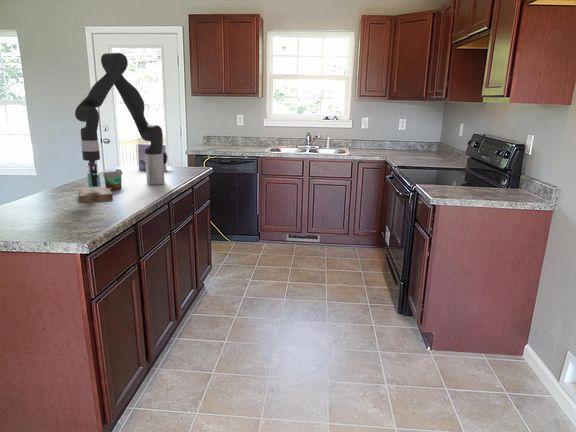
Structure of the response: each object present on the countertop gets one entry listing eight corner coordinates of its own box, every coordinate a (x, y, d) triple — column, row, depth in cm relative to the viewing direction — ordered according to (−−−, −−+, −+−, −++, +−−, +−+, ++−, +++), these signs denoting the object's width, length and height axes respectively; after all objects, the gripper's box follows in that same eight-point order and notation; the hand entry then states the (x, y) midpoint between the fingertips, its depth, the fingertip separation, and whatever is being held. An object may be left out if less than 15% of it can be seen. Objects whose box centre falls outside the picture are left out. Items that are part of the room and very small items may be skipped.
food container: (115, 192, 219) (113, 173, 216) (104, 191, 220) (102, 172, 217) (128, 187, 231) (126, 169, 228) (118, 186, 232) (116, 168, 229)
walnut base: (109, 194, 214) (108, 188, 213) (113, 199, 202) (112, 193, 201) (78, 196, 207) (78, 190, 206) (80, 202, 195) (80, 196, 194)
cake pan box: (168, 169, 290) (166, 144, 285) (165, 171, 285) (164, 144, 280) (141, 169, 292) (139, 143, 287) (138, 170, 287) (136, 144, 282)
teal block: (99, 185, 206) (98, 173, 205) (100, 186, 202) (99, 174, 200) (88, 185, 204) (87, 173, 202) (89, 187, 200) (87, 175, 198)
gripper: (100, 151, 194) (104, 187, 198) (97, 148, 206) (101, 182, 211) (83, 151, 190) (86, 188, 195) (80, 148, 203) (84, 183, 207)
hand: (94, 185), depth 203 cm, fingers closed on teal block, 5 cm apart
